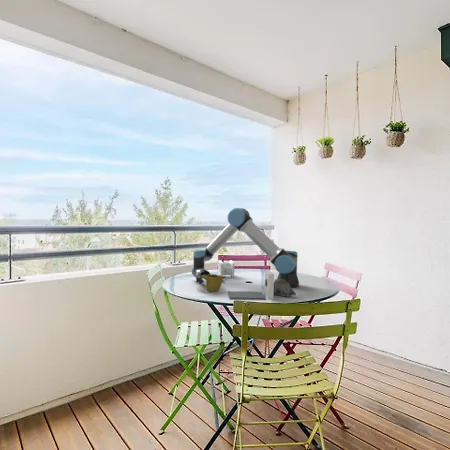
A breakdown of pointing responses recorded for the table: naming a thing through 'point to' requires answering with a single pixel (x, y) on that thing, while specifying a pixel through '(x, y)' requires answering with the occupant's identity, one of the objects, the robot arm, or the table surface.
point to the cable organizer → (226, 268)
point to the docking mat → (246, 295)
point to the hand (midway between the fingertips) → (215, 282)
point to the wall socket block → (269, 284)
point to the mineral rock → (282, 288)
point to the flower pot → (213, 282)
